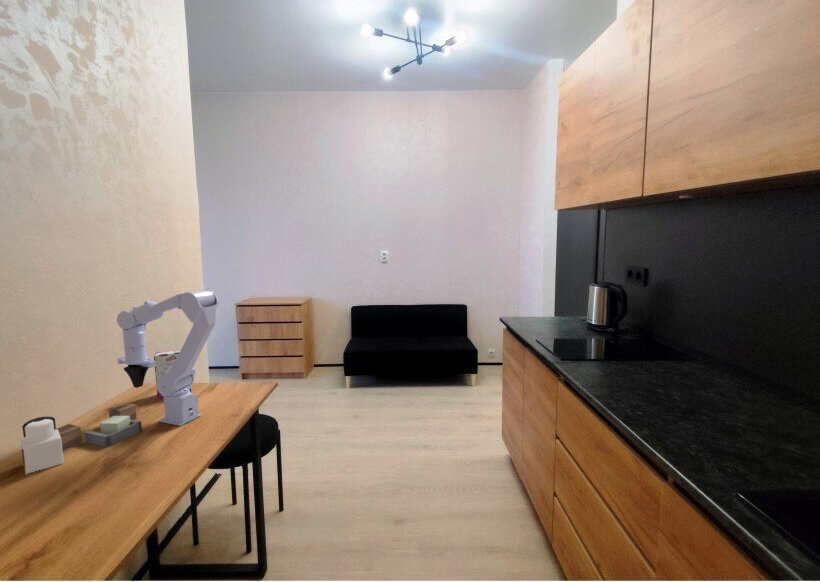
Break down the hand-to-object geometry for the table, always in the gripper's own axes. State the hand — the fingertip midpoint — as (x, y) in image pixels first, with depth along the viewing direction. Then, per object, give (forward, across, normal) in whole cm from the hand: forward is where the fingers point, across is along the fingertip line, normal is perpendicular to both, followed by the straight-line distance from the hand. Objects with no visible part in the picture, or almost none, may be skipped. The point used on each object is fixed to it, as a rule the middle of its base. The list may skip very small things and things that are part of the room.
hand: (138, 386), depth 128 cm
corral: (+10, -6, +13) cm, 18 cm away
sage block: (+10, -6, +12) cm, 17 cm away
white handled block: (+10, -4, +29) cm, 31 cm away
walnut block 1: (+10, +1, +21) cm, 23 cm away
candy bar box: (+10, +6, -18) cm, 21 cm away
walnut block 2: (+10, +1, +5) cm, 11 cm away
